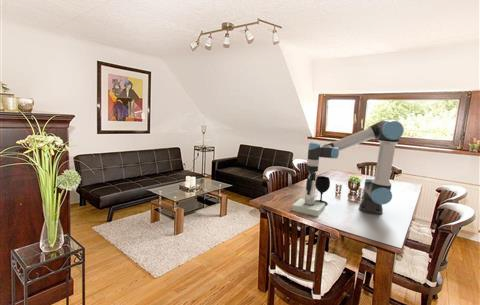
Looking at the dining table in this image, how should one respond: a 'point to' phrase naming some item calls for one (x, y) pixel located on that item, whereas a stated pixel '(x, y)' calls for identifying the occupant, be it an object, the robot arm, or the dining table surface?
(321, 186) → the wine glass
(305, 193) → the plug
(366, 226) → the dining table surface
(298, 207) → the socket plate
